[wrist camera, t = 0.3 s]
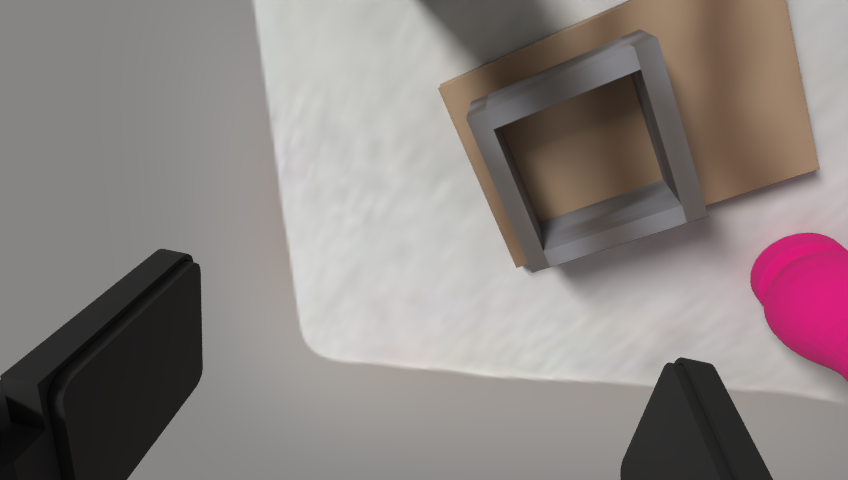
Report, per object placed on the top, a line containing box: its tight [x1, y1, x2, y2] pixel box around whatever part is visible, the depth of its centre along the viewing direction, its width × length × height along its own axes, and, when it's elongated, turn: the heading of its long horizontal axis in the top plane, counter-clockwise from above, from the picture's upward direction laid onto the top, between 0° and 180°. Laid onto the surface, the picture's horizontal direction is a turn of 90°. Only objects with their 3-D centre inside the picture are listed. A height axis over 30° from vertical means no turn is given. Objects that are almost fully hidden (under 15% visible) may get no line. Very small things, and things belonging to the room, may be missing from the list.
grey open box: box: [438, 0, 819, 273], centre depth 35 cm, size 20×14×6 cm
